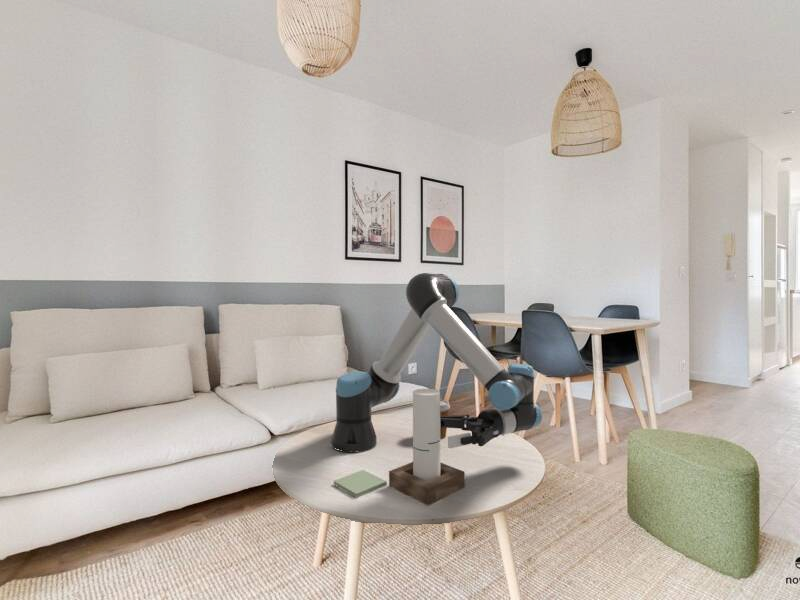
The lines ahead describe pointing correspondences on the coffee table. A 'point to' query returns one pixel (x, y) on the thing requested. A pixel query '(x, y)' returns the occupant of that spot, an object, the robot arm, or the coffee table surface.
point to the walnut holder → (427, 483)
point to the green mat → (360, 483)
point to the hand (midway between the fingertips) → (433, 434)
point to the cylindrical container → (426, 434)
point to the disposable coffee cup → (443, 412)
